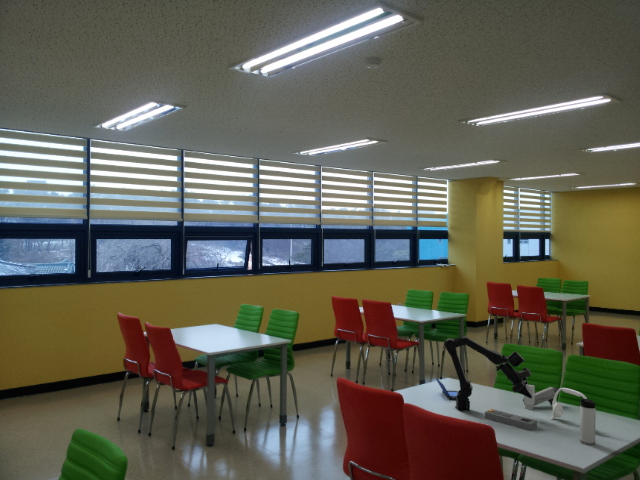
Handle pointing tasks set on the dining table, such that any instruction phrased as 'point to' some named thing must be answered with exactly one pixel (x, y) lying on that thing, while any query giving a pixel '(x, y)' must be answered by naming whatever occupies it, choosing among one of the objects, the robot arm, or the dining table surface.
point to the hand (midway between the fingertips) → (532, 396)
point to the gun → (544, 396)
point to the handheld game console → (448, 392)
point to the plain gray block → (529, 401)
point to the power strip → (511, 419)
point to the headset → (558, 407)
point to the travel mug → (587, 421)
